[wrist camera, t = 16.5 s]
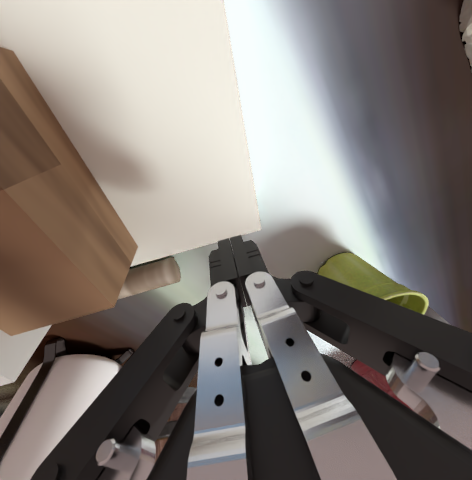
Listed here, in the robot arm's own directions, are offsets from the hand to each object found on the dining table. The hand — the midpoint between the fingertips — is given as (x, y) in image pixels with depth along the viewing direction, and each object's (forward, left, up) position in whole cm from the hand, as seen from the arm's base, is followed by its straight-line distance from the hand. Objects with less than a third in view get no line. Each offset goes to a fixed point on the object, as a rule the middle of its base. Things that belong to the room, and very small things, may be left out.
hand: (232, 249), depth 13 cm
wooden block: (+12, +7, -8) cm, 16 cm away
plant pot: (-13, +15, -8) cm, 22 cm away
